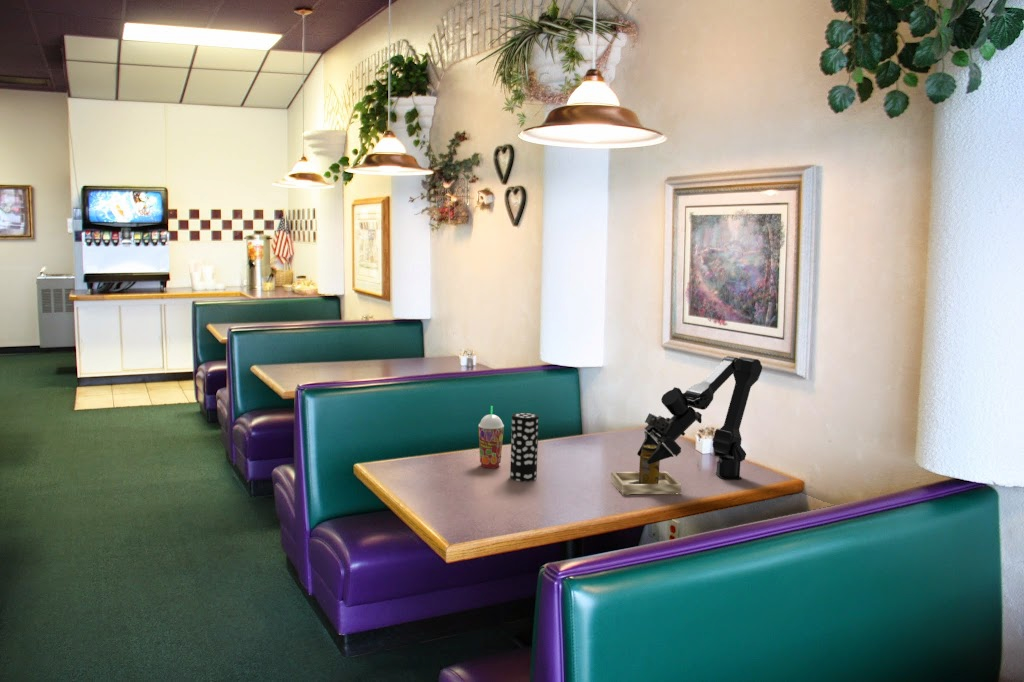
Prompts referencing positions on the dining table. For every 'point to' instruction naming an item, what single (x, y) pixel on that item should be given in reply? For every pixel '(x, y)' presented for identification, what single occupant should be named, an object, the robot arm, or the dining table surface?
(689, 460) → the dining table surface
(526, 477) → the white-spotted black cylinder
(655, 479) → the condiment
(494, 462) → the smoothie
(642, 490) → the tray
